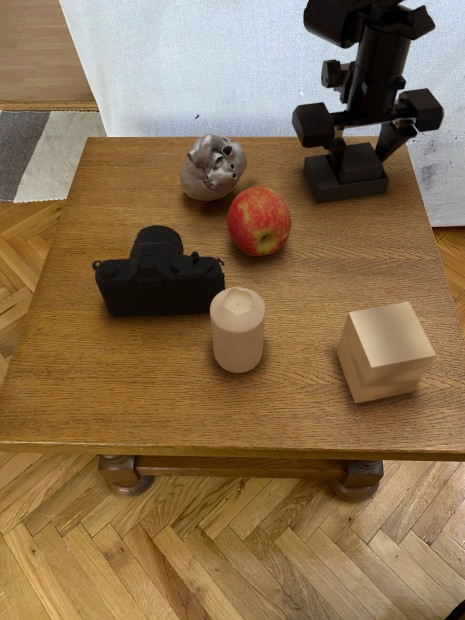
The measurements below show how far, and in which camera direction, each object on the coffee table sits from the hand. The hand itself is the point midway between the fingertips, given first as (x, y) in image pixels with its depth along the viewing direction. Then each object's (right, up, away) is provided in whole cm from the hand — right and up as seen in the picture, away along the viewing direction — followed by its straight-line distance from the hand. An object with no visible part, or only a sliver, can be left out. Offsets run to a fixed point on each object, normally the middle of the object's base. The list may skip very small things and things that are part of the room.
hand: (354, 170), depth 70 cm
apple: (-14, -11, -5) cm, 19 cm away
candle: (-17, -25, -15) cm, 34 cm away
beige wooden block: (-2, -27, -16) cm, 32 cm away
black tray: (-1, -1, +1) cm, 2 cm away
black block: (0, 0, 0) cm, 0 cm away
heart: (-20, -4, 0) cm, 21 cm away
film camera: (-26, -17, -9) cm, 33 cm away
